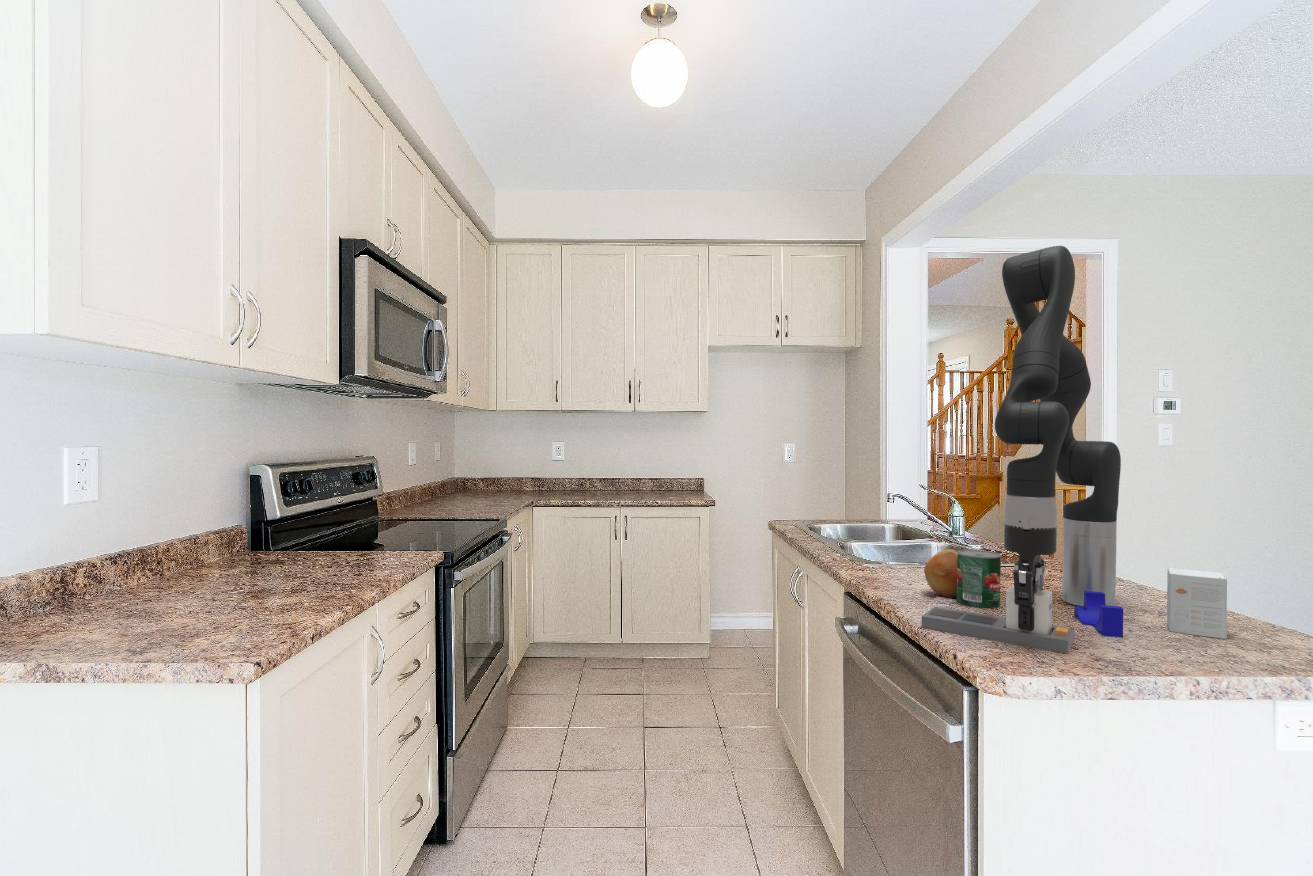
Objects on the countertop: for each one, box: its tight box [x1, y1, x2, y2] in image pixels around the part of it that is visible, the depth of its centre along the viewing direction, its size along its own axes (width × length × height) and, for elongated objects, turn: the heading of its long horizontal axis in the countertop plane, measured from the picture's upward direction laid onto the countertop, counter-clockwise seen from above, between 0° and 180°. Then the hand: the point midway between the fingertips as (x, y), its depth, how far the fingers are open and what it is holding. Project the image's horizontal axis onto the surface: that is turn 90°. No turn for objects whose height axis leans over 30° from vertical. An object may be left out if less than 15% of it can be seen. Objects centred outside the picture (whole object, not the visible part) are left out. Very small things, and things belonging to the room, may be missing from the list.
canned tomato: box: [956, 549, 1002, 609], centre depth 134 cm, size 8×8×11 cm
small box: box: [1166, 567, 1228, 640], centre depth 119 cm, size 8×6×10 cm
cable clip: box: [1073, 591, 1124, 638], centre depth 119 cm, size 12×4×6 cm, turn 160°
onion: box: [923, 548, 958, 599], centre depth 143 cm, size 10×10×10 cm
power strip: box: [921, 606, 1075, 655], centre depth 114 cm, size 8×22×4 cm, turn 52°
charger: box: [1005, 585, 1053, 635], centre depth 111 cm, size 4×6×8 cm
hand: (1028, 625), depth 111 cm, fingers open, 4 cm apart
